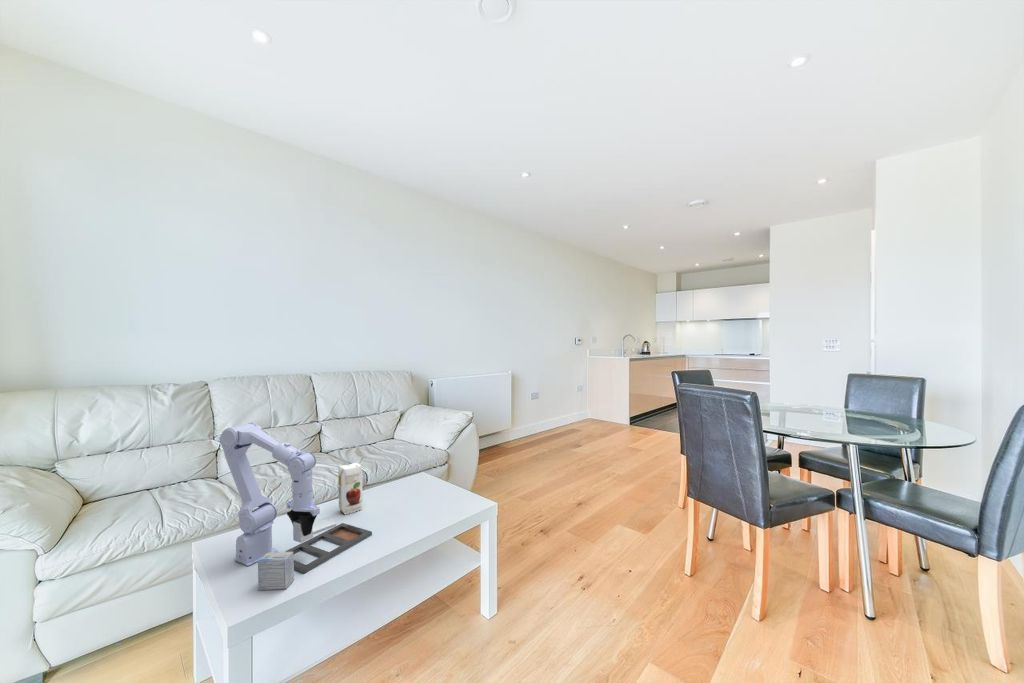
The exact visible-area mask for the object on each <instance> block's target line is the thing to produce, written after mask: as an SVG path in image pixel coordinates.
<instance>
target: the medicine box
mask: <svg viewBox="0 0 1024 683" xmlns="http://www.w3.org/2000/svg"><path fill="white" fill-rule="evenodd" d="M294 560H295V558H294V554H293V552H285V551H278V552H272V553H267V554H265V555H264V556H263V557H262V558H261V559H260V560H259V561H258V562H257V574H258V575H257V578H258V579H257V581H258V582H257V586H258V591H272V590H286V589H288V588H289V586H290V585H292V583H293V582H294V581H295V570H294Z"/></svg>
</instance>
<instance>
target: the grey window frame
mask: <svg viewBox="0 0 1024 683" xmlns="http://www.w3.org/2000/svg"><path fill="white" fill-rule="evenodd" d="M372 535H373V531H372V530H367V529H364V528H361V527H358V526H354V525H351V524H348V523H344V522H341V523H340V524H336V526H335V527H332V528H329V529H327V530H324V531H322V532H320V533H319V534H317V535H316V536H313V537H312V538H310V539H308V540H306V541H304V542H302V543H299V544H297V545H296V546H293V547H292V548H289V549H287V550H285V551H284V552H293V555H294V554H296V553H298V552H300V551H302V552H304V553H307V554H310V555H311V556H315V557H318V558H316V559H314V560H313V561H311V562H308V563H307V564H305V563H303V562H299V561H297V560H295V559H294V571H296V572H298V573H300V574H304V575H305V574H306V573H308V572H309V571H312V570H314V569H316V568H317V567H319V566H320V565H322V564H324V563H326V562H327V561H329V560H331V559H332V558H335V557H336V556H339V555H340V554H341V553H343V552H345V551H347V550H348V549H350V548H351V547H353V546H356V545H357V544H359V543H360V542H362V541H364V540H365V539H367V538H369V537H370V536H372ZM322 540H323V541H326V542H329V543H332V544H335V545H338V546H337V547H336V548H334V549H332V550H331V551H328V550H324V549H323V548H319V547H317V546H313V544H316V543H317V542H320V541H322Z"/></svg>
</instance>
